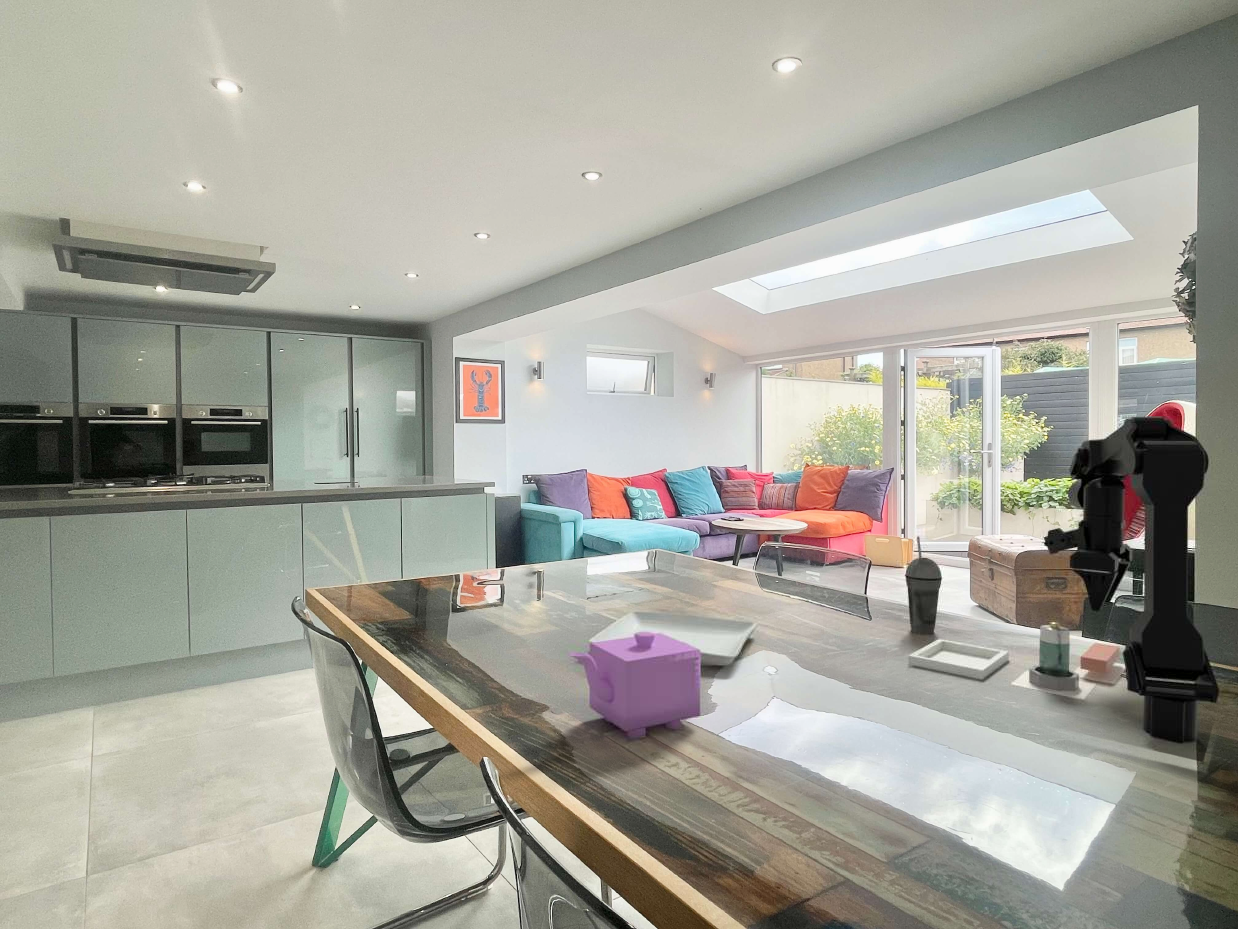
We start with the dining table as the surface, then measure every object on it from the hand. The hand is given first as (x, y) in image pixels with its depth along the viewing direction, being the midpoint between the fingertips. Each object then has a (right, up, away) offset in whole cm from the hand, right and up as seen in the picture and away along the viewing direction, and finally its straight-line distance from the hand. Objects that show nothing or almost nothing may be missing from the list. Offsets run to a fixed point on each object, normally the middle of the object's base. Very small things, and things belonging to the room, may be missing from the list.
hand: (1101, 606), depth 123 cm
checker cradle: (-6, -12, -2) cm, 14 cm away
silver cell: (-12, -11, -7) cm, 18 cm away
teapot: (-80, -12, -23) cm, 84 cm away
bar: (0, -10, 0) cm, 10 cm away
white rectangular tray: (-22, -12, +4) cm, 25 cm away
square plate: (-71, -12, +17) cm, 74 cm away
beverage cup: (-18, -11, +29) cm, 36 cm away
